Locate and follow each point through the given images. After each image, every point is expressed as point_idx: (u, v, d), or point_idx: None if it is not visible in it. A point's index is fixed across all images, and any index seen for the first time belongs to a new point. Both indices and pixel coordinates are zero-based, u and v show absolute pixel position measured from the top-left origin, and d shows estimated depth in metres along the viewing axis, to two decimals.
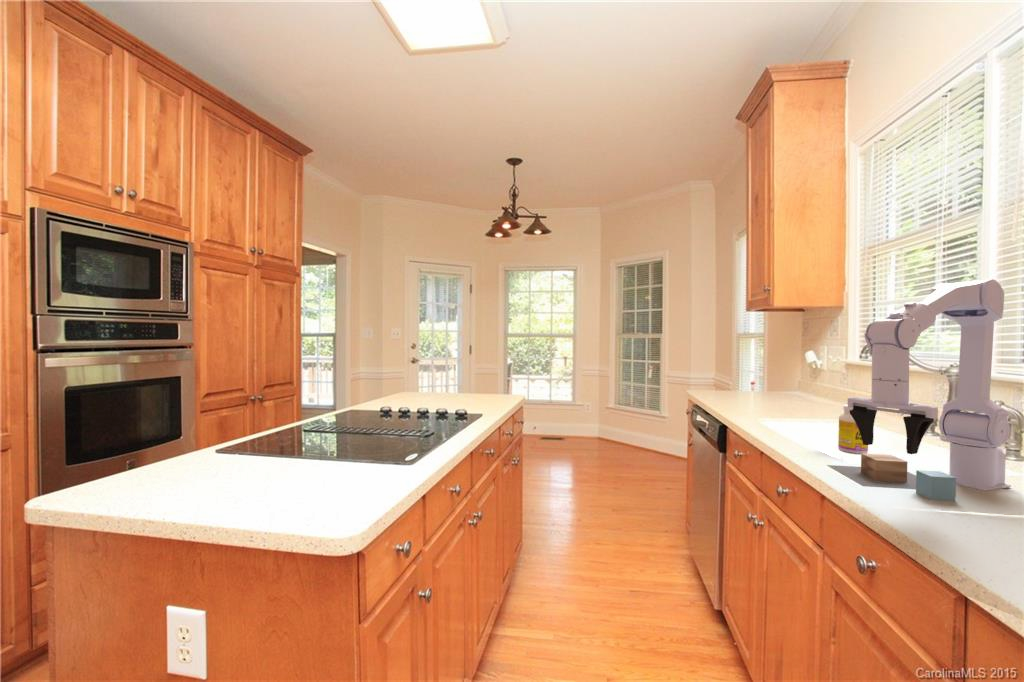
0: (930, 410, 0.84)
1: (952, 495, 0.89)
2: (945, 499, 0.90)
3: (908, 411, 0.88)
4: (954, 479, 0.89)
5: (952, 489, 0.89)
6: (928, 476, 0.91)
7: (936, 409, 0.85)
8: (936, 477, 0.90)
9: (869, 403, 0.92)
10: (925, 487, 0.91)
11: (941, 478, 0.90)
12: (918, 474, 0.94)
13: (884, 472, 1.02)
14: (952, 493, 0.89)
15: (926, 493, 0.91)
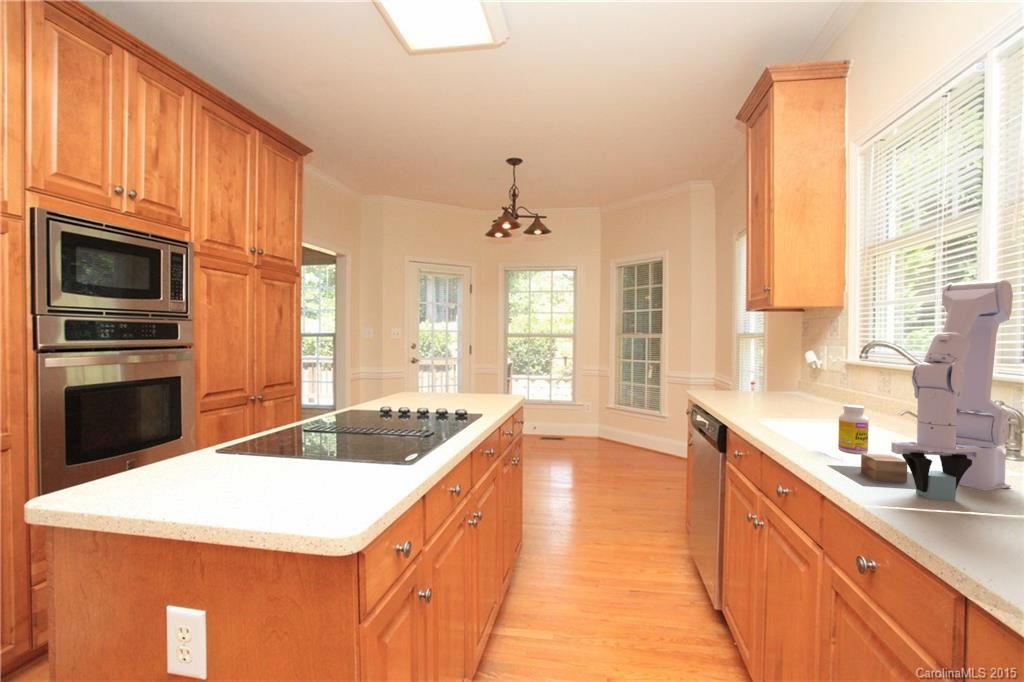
0: (981, 450, 0.89)
1: (952, 495, 0.89)
2: (945, 499, 0.90)
3: (956, 452, 0.91)
4: (954, 479, 0.89)
5: (952, 489, 0.89)
6: (928, 476, 0.91)
7: None
8: (936, 477, 0.90)
9: (931, 449, 0.90)
10: None
11: (941, 478, 0.90)
12: None
13: (884, 472, 1.02)
14: (952, 493, 0.89)
15: (926, 492, 0.91)
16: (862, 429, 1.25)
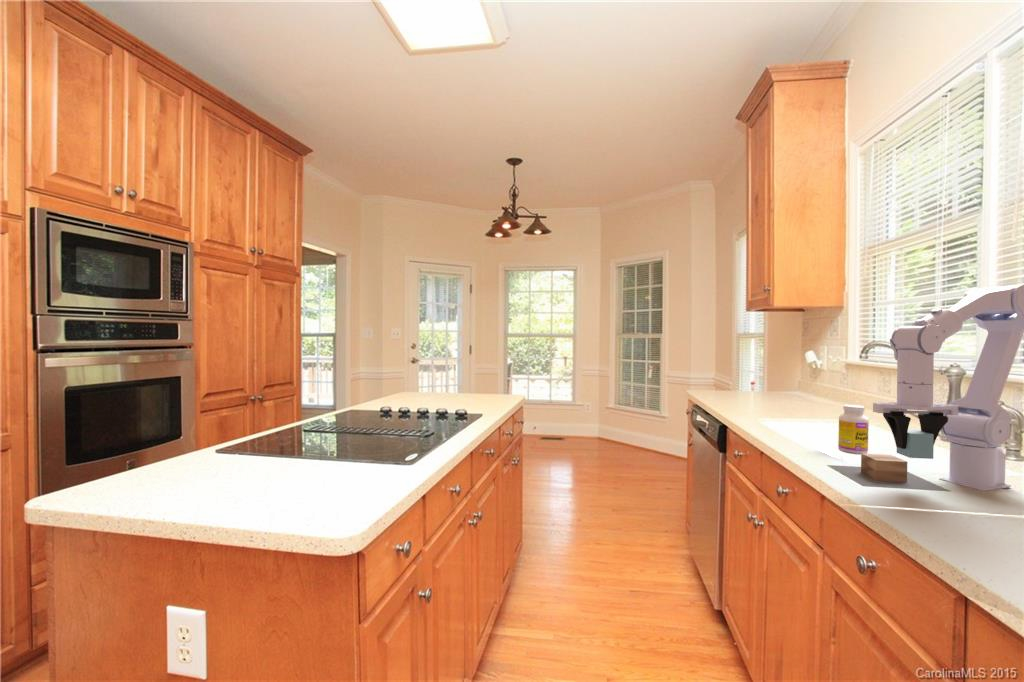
0: (956, 408, 0.94)
1: (930, 451, 0.94)
2: (923, 455, 0.94)
3: (933, 411, 0.96)
4: (932, 435, 0.94)
5: (930, 445, 0.94)
6: (908, 433, 0.95)
7: None
8: (915, 434, 0.95)
9: (910, 407, 0.95)
10: None
11: (920, 435, 0.94)
12: None
13: (884, 472, 1.02)
14: (930, 449, 0.94)
15: (906, 450, 0.96)
16: (862, 429, 1.25)
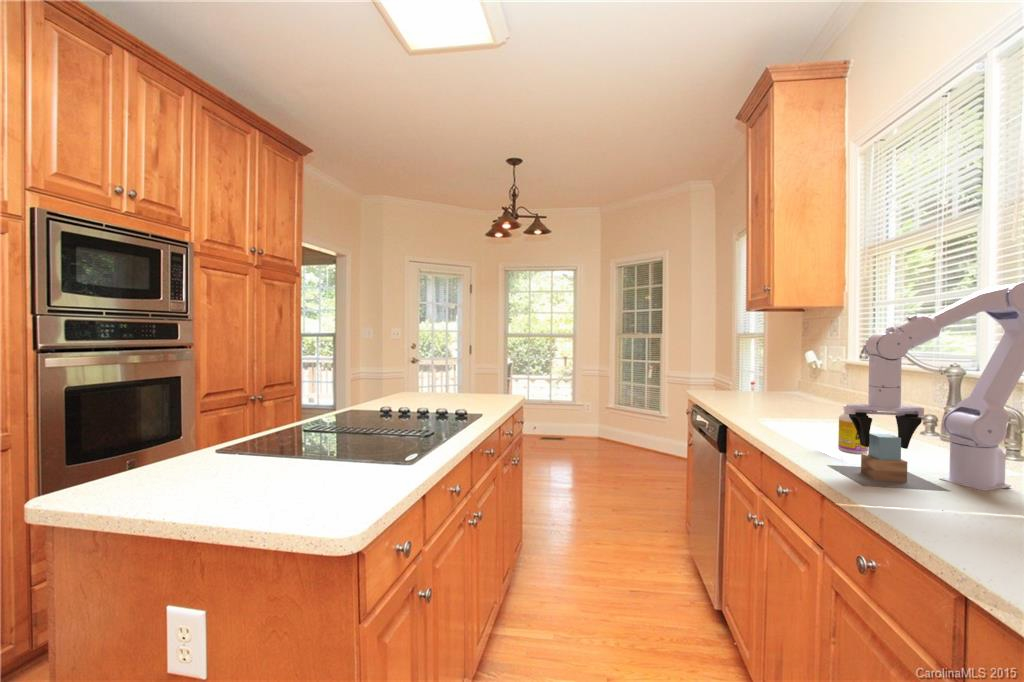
0: (922, 410, 1.02)
1: (898, 453, 1.02)
2: (892, 457, 1.02)
3: None
4: (899, 439, 1.02)
5: (897, 448, 1.02)
6: (877, 437, 1.03)
7: None
8: (884, 438, 1.02)
9: (879, 409, 1.02)
10: (875, 447, 1.04)
11: (888, 438, 1.02)
12: (870, 437, 1.06)
13: (884, 472, 1.02)
14: (898, 452, 1.02)
15: (876, 452, 1.04)
16: None
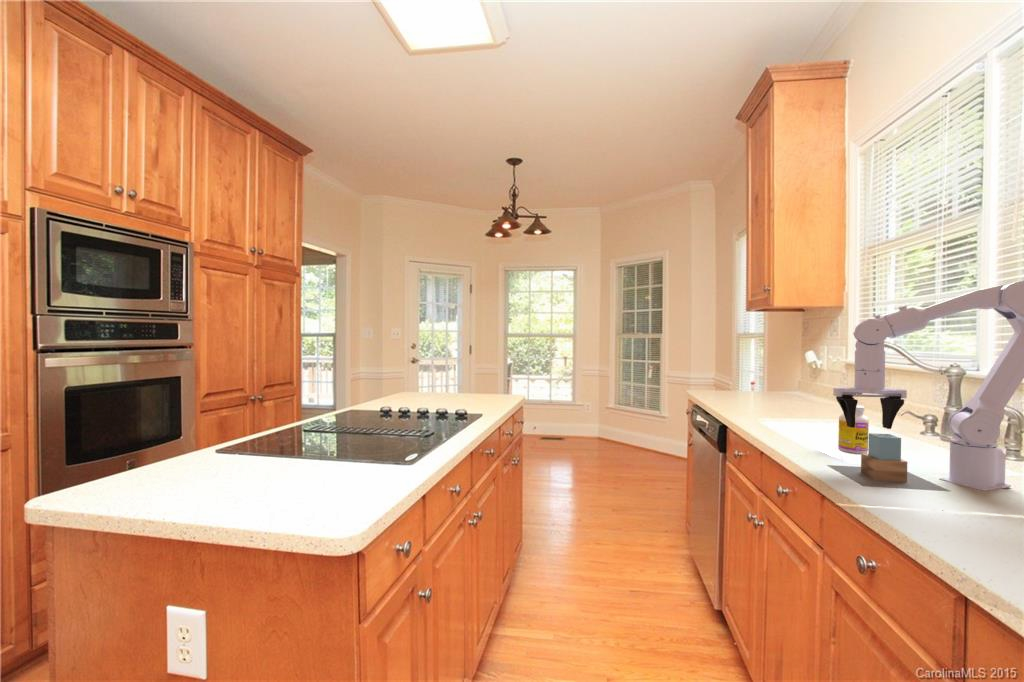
0: (905, 392, 1.08)
1: (898, 453, 1.02)
2: (892, 457, 1.02)
3: (885, 394, 1.09)
4: (899, 439, 1.02)
5: (897, 448, 1.02)
6: (877, 437, 1.03)
7: None
8: (884, 438, 1.02)
9: (864, 391, 1.08)
10: (875, 447, 1.04)
11: (888, 438, 1.02)
12: (870, 437, 1.06)
13: (884, 472, 1.02)
14: (898, 452, 1.02)
15: (876, 452, 1.04)
16: (862, 429, 1.25)
